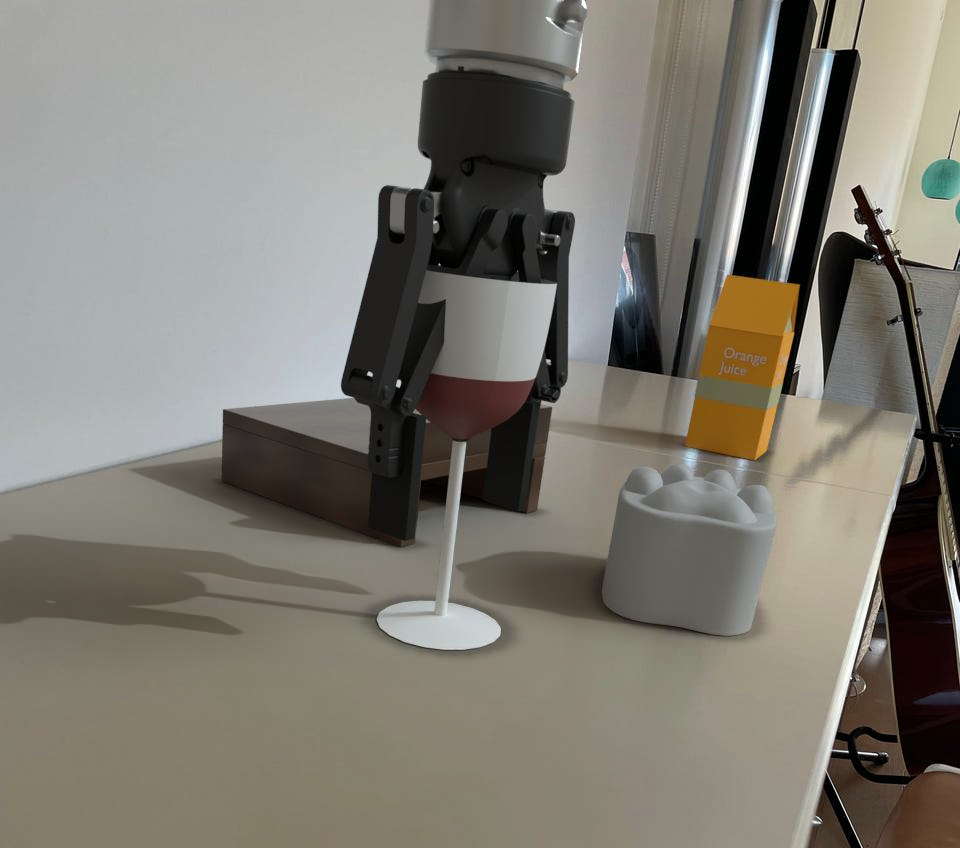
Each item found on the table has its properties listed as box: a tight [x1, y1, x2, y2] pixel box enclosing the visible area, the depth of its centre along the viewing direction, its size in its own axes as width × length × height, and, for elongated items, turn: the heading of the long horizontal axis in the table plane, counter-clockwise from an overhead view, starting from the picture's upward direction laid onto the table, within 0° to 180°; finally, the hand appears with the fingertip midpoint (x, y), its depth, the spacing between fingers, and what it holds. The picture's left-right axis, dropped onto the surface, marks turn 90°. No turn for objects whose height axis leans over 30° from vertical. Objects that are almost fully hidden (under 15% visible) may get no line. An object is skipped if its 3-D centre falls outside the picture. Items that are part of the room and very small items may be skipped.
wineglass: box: [376, 264, 557, 651], centre depth 56 cm, size 8×9×20 cm
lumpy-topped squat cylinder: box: [601, 463, 777, 637], centre depth 68 cm, size 10×13×9 cm
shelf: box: [221, 397, 553, 548], centre depth 82 cm, size 20×18×9 cm
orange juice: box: [684, 274, 801, 461], centre depth 119 cm, size 8×9×20 cm
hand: (451, 518), depth 57 cm, fingers open, 10 cm apart
